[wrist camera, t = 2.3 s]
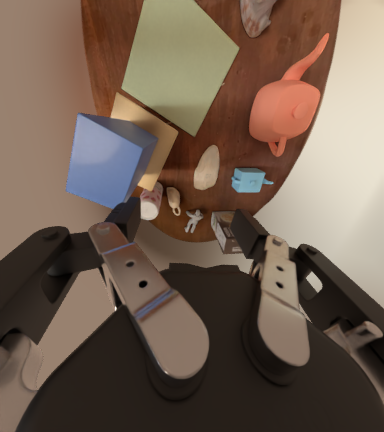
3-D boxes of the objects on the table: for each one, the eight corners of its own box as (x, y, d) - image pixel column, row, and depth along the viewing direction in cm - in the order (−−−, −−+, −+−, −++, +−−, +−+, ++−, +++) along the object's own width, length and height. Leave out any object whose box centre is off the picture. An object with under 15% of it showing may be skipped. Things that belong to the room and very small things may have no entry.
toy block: (116, 161, 25) (65, 191, 13) (128, 120, 22) (77, 111, 10) (143, 174, 27) (120, 212, 15) (158, 138, 24) (143, 148, 12)
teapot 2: (308, 62, 35) (365, 35, 24) (279, 152, 45) (310, 159, 35) (256, 57, 33) (293, 25, 23) (238, 151, 44) (258, 158, 33)
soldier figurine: (196, 223, 59) (206, 204, 50) (197, 234, 56) (208, 216, 47) (181, 221, 58) (189, 201, 49) (181, 232, 54) (189, 213, 45)
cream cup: (178, 185, 47) (179, 191, 43) (181, 207, 52) (181, 215, 47) (166, 187, 47) (165, 193, 43) (169, 209, 52) (169, 216, 47)
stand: (126, 152, 41) (97, 167, 25) (141, 107, 36) (116, 91, 20) (159, 169, 44) (151, 191, 29) (177, 130, 39) (178, 131, 24)
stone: (190, 186, 48) (191, 189, 46) (200, 141, 41) (201, 142, 39) (212, 190, 50) (214, 192, 48) (225, 147, 43) (227, 148, 41)
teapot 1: (264, 167, 47) (278, 173, 41) (259, 185, 50) (271, 193, 44) (229, 167, 46) (238, 173, 39) (226, 185, 49) (234, 193, 43)
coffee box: (210, 224, 57) (221, 254, 44) (212, 211, 54) (225, 239, 40) (232, 224, 58) (250, 253, 45) (235, 210, 55) (255, 237, 41)
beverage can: (142, 184, 46) (129, 205, 33) (158, 177, 45) (151, 196, 32) (150, 199, 49) (142, 224, 36) (166, 192, 48) (163, 216, 35)
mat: (121, 89, 33) (121, 88, 33) (154, -39, 25) (154, -41, 25) (194, 137, 40) (194, 137, 40) (239, 49, 32) (239, 48, 32)
